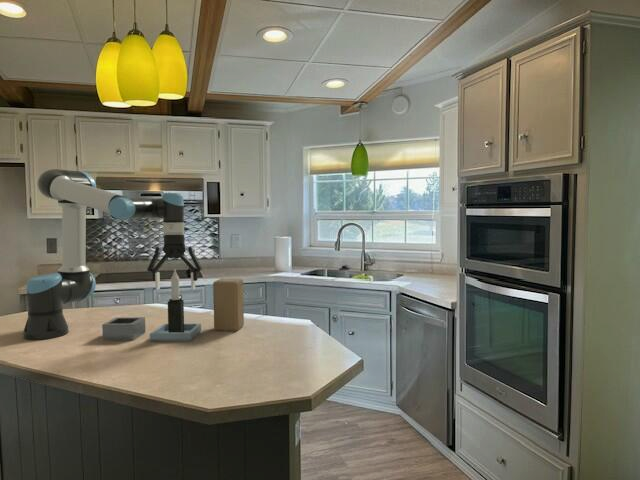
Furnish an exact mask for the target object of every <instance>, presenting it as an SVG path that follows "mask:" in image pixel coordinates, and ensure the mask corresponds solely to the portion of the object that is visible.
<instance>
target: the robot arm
mask: <svg viewBox="0 0 640 480" xmlns="http://www.w3.org/2000/svg"><path fill="white" fill-rule="evenodd" d="M94 179H95V178H93V177H92V175H91V174H89V173H87V172H84V171H79V170H69V169H68V170H67V169H58V168H52V169H48V170H45V171H44V172H42V173H41V174H40V175H39V177H38V180H37V187H38V190H39V192H40V193H41V194H42V195H43V196H45V197H47V198H48V199H52V200H56V201H57V204H58V205H59V206H60V207H61V209H62V210H61V211H62V214H61V216H62V217H61V220H62V223H61V225H62V226H61V228H62V230H61V232H62V233H61V237H62V238H61V241H62V245H61V253H62V254H61V255H62V256H61V266H60V267H59V268H58V269H57V272H49V273H48V272H47V273H42V274H39V275H34V276H32V277H30V278H29V279H28V280H27V282H26V288H25V289H26V290H25V292H26V299H27V318H26V319H27V320H26V323H25V326H24V328H23V331H22V332H23V339H24V340H25V339H26V340H34V341H35V340H36V341H37V340H47V339H53V338H57V337H61V336H65V335H67V334H68V333H69V324H68V323H67V321H66V320H67V319H66V318H65V316H64V312H63V305H66V304H70V303H71V304H72V303H74V302H80V301H83V300H86V299H88V298H90V297H91V296H92V295H93V294H94V292H95V290H96V287H97V286H96V285H97V284H96V283H97V282H96V278H95V277H94V275H93V274H92V273H91V272H90V268H89V267H88V266H87V265H86V261H87V260H86V259H87V258H86V251H87V250H86V249H87V248H86V246H87V245H86V244H87V243H86V238H87V236H86V233H87V230H86V229H87V225H86V223H87V220H86V219H87V208H91V209H94V210H98V211H100V212H104V213H106V214H110V215H111V216H112V217H113V218H114V219H119V220H133V219H135V220H136V219H138V220H139V219H147V220H148V219H162V220H163V222H162V223H163V233H164V235H163V246H162V247H161V246H155V248H154V254H153V256H152V258H151V260H150V263H149V264H148V267H147V269H146V270H147V272H149V273H150V272H151V273H152V282H155V284H154V285H155V291H159V290H161V280H160V279H161V277H160V276H161V275H160V274H161V273H160V272H159V270H160V268H161V267H162V266H163V265H165V262H167V260H168V259H170V260H171V259H181V260H182V261H183V262H184V263H185V265H186V266H187V267H188V268H189V269H190V270H191V272H190V287H191V288H190V289H191V291H194V290H196V282H197V281H198V273H199V272H200V271H202V270H203V267H202V265H201V263H200V261H199V259H198V257H197V255H196V253H195V250H194V246H193V245H191V246H186V245H185V244H186V243H185V242H186V241H185V240H186V239H185V234H184V233H185V219H184V217H185V216H184V215H185V211H184V210H185V203H184V195H183V194H182V193H180V192H163V194H162V198H144V197H143V198H140V197H136V198H135V197H128V196H124V195H121V194H117V193H115V192H110V191H107V190H104V189H101V188H98V187H97V183H96V181H95V180H94ZM162 252H163V253H164V255H163V256H162V258H161V259H160V261H158V259H159V257H160V255H161V253H162ZM185 252H187V253H188V254H189V256H190V259H191V260H192V262H191V260H190V259H189V258H188V257H187V255H186V254H185ZM157 261H158V262H157ZM156 263H157V264H156Z"/></svg>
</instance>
